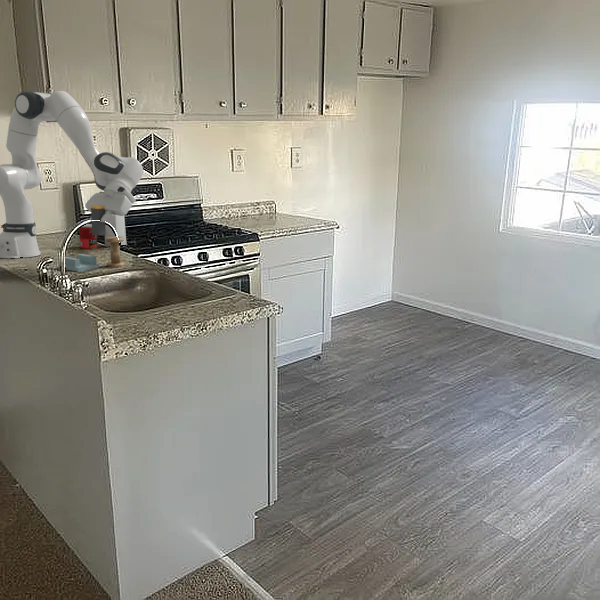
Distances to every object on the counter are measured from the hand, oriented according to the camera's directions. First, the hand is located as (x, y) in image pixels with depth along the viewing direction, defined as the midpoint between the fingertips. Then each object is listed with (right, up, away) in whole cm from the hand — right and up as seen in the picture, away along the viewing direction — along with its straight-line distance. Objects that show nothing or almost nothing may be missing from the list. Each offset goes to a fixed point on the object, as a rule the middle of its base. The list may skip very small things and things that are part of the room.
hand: (96, 220), depth 232 cm
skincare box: (-13, -4, +66) cm, 67 cm away
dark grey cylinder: (0, -5, +2) cm, 5 cm away
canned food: (-23, -6, +58) cm, 63 cm away
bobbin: (+2, -16, +19) cm, 25 cm away
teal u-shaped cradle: (-11, -17, +12) cm, 24 cm away
